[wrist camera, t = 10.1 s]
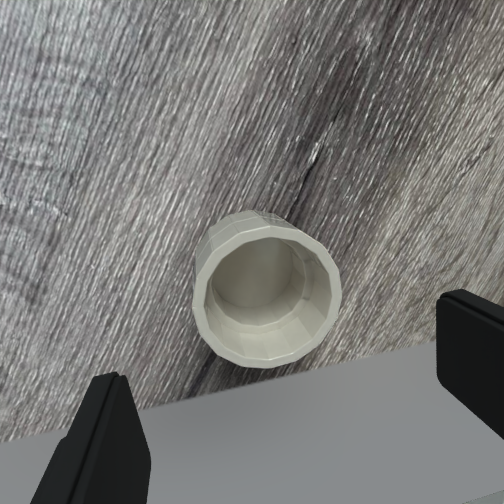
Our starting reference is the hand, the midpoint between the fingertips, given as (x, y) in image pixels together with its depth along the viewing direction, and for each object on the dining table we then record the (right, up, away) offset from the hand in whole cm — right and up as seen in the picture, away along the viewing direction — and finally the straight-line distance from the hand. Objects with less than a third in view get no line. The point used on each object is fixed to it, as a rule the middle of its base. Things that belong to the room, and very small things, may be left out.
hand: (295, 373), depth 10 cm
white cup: (-1, +3, +10) cm, 11 cm away
